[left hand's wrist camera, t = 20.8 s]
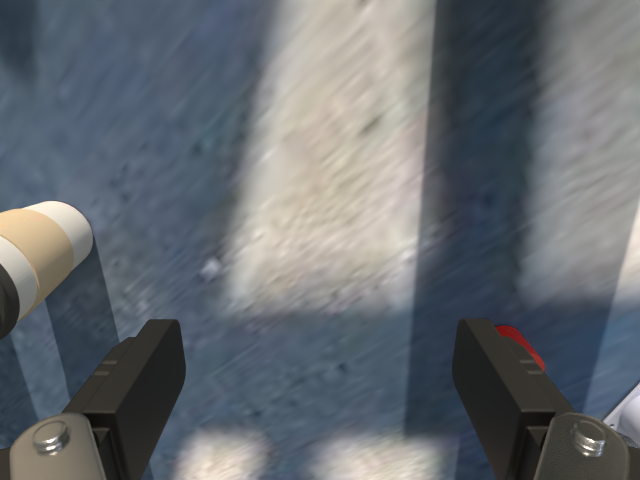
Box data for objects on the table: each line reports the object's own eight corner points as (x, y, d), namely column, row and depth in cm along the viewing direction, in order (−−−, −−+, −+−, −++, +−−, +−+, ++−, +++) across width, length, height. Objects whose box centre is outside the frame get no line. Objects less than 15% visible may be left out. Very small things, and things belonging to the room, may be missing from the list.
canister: (470, 352, 46) (487, 381, 42) (495, 318, 45) (515, 345, 40) (505, 367, 47) (526, 397, 42) (531, 335, 45) (555, 363, 41)
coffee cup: (8, 259, 42) (-148, 345, 28) (16, 177, 39) (-155, 227, 25) (97, 285, 43) (-11, 381, 29) (111, 207, 40) (-2, 272, 26)
